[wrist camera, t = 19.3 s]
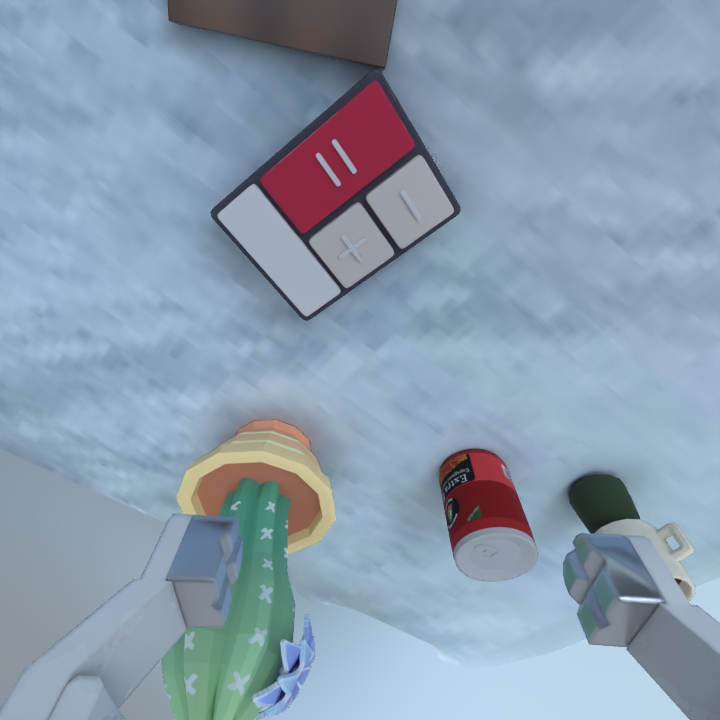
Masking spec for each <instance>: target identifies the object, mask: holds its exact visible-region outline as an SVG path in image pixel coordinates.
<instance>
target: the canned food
mask: <svg viewBox="0 0 720 720" xmlns="http://www.w3.org/2000/svg"><path fill="white" fill-rule="evenodd" d="M439 481H440V487H441V493H442V498H443V504H444V509H445V515H446V520H447V526H448V531H449V537H450V542H451V547H452V552H453V557H454V560H455V563H456V566H457V568H458V569H459V570H460V571H461V572H462V573H463V574H464V575H466V576H468V577H470V578H473V579H476V580H481V581H503V580H508V579H512V578H515V577H518V576H520V575H522V574H524V573H526V572H527V571H528V570H530V569H531V568H532V567H533V566H534V564H535V563H536V561H537V558H538V552H537V548H536V543H535V541H534V538H533V535H532V532H531V529H530V527H529V524H528V522H527V519H526V516H525V514H524V511H523V508H522V506H521V503H520V500H519V498H518V495H517V492H516V490H515V487H514V485H513V482H512V479H511V477H510V474H509V471H508V469H507V467H506V465H505V464H504V463H503V461H502V460H501V459H500V458H499V457H498V456H497V455H495V454H494V453H491V452H489V451H486V450H480V449H469V450H464V451H461V452H458V453H456V454H454V455H452V456H450V457H449V458H448V459H447V460H446V461H445V462H444V463H443V465H442V467H441V471H440V476H439Z"/></svg>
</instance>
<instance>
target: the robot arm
mask: <svg viewBox="0 0 720 720" xmlns="http://www.w3.org/2000/svg"><path fill="white" fill-rule="evenodd" d="M239 529H240V524H239V519H238V518H233V517H218V516H204V515H190V514H173V515H172V516H171V517H170V518H169V520H168V521H167V523H166V526H165V528H164V530H163V532H162V534H161V536H160V538H159V540H158V542H157V544H156V547H155V549H154V551H153V553H152V555H151V557H150V559H149V561H148V563H147V565H146V567H145V570H144V572H143V574H142V576H141V578H140V579H133V580H132V581H131V582H129V583H128V584H127V585H126V586H124V588H122V589H121V590H120V591H118V592H117V593H116V594H115V595H114V596H112V597H111V598H110V599H109V600H108V601H106V602H105V603H104V604H103V605H101V606H100V607H99V608H98V609H97V610H95V611H94V612H93V613H92V614H91V615H89V616H88V617H87V618H86V619H85V620H83V621H82V622H81V623H80V624H78V625H77V626H76V627H75V628H74V629H72V630H71V631H70V632H69V633H68V634H66V635H65V636H64V637H63V638H62V639H60V640H59V641H58V642H57V643H55V644H54V645H53V646H52V647H51V648H49V650H47V651H46V652H45V653H43V654H42V655H41V656H40V657H39V658H37V659H36V660H35V661H34V662H32V664H30V665H29V666H28V667H26V668H25V669H24V670H23V671H22V673H21V675H20V676H19V678H18V679H17V681H16V683H15V685H14V686H13V688H12V689H11V691H10V693H9V694H8V696H7V698H6V699H5V701H4V703H3V704H2V706H1V708H0V720H125V718H124V717H123V715H122V714H121V712H120V710H119V708H120V707H121V705H122V704H123V703H124V702H125V700H127V698H128V697H129V696H130V695H131V694H132V692H133V691H134V690H135V689H136V688H137V687H138V686H139V685H140V683H141V682H142V681H143V680H144V679H145V678H146V676H147V675H148V674H149V673H150V672H151V671H152V669H153V668H154V667H155V666H156V665H157V664H158V663H159V661H160V660H161V659H162V658H163V657H164V656H165V654H166V653H167V652H168V651H169V650H170V649H171V647H172V646H173V645H174V644H175V643H176V642H177V640H178V639H179V638H180V637H181V636H182V635H183V634H184V632H185V631H186V630H187V628H186V627H208V628H224V627H225V624H226V620H227V617H228V613H229V609H230V606H231V602H232V599H233V598H232V592H231V587H230V586H232V585H233V584H234V583H235V582H236V581H237V580H238V576H239V572H240V569H241V563H242V556H243V543H242V538H240V537H239V536H238V532H239ZM573 544H574V547H575V549H574V550H573V551H571V552H569V553H568V554H567V555H566V558H565V560H564V562H563V576H564V580H565V585H566V587H567V590H568V593H569V595H570V596H571V597H572V598H573V599H574V600H575V601H576V602H577V603H578V604H580V605H579V609H578V612H577V615H578V618H579V620H580V623H581V625H582V628H583V630H584V633H585V635H586V638H587V640H588V643H589V644H591V645H604V646H618V647H628V648H627V651H628V652H629V653H630V654H631V655H632V656H633V657H634V658H635V659H636V661H637V662H638V663H639V664H640V665H641V666H642V667H643V668H644V669H645V670H646V672H647V673H648V674H649V675H650V676H651V677H652V678H653V679H654V681H655V682H656V683H657V684H658V685H659V686H660V687H661V688H662V689H663V691H664V692H665V693H666V694H667V695H668V696H669V697H670V698H671V699H672V701H673V702H674V703H675V704H676V705H677V706H678V707H679V708H680V709H681V711H682V712H683V713H684V714H685V715H686V716H687V717H688V718H689V719H690V720H720V623H719V622H718V621H717V620H715V619H714V618H713V617H712V616H710V615H709V614H708V613H707V612H705V611H704V610H703V609H701V608H700V607H699V606H698V605H691V604H690V603H689V601H688V599H687V598H686V596H685V595H684V593H683V592H682V590H681V588H680V587H679V585H678V584H677V582H676V580H675V579H674V577H673V576H672V574H671V573H670V571H669V569H668V568H667V566H666V565H665V563H664V561H663V560H662V558H661V557H660V555H659V554H658V552H657V550H656V549H655V547H654V546H653V544H652V543H651V541H650V540H649V539H648V538H646V537H645V536H630V535H620V534H589V533H580V534H578V535H577V536H576V537H575V539H574V541H573Z"/></svg>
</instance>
